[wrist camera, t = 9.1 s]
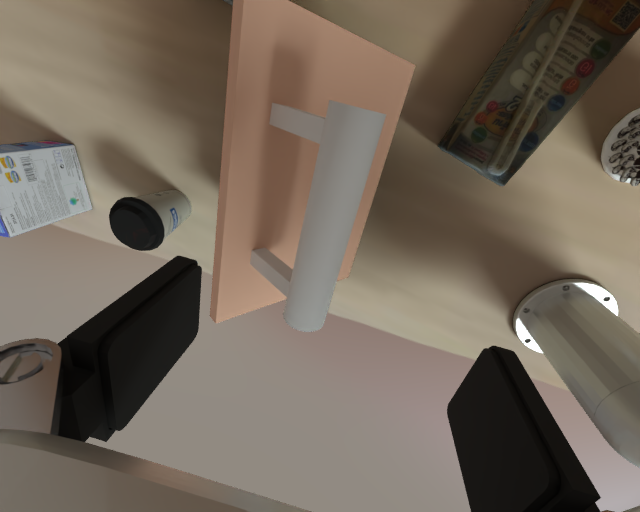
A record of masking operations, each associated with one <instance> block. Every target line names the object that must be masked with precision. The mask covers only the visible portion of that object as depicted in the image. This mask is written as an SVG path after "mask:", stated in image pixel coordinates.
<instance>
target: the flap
mask: <svg viewBox="0 0 640 512" xmlns="http://www.w3.org/2000/svg"><path fill="white" fill-rule="evenodd" d="M415 66H416V65H414V64H412V63H410V62H408V61H406V60H404V59H402V58H400V57H398V56H396V55H394V54H392V53H390V52H388V51H386V50H384V49H383V48H381V47H379V46H377V45H375V44H373V43H371V42H369V41H367V40H365V39H363V38H361V37H359V36H357V35H355V34H353V33H351V32H349V31H347V30H345V29H343V28H341V27H340V26H338V25H336V24H334V23H332V22H330V21H328V20H326V19H324V18H322V17H320V16H318V15H316V14H314V13H312V12H310V11H308V10H306V9H304V8H302V7H300V6H299V5H297V4H295V3H293V2H291V1H289V0H233V10H232V24H231V37H230V51H229V64H228V78H227V91H226V105H225V118H224V132H223V145H222V159H221V172H220V186H219V199H218V213H217V226H216V240H215V254H214V267H213V281H212V294H211V308H210V317H211V318H212V319H213V321H214V322H215V323H219V322H222V321H224V320H227V319H230V318H233V317H236V316H239V315H242V314H244V313H247V312H250V311H253V310H256V309H259V308H262V307H265V306H268V305H270V304H273V303H276V302H279V301H282V300H285V299H286V304H285V309H284V313H283V316H284V319H285V321H286V323H287V324H288V325H290V326H291V327H292V328H294V329H296V330H300V331H304V332H312V331H316V330H319V329H320V328H321V327H322V326H323V325H324V321H325V318H326V315H327V311H328V308H329V305H330V301H331V298H332V295H333V291H334V288H335V285H336V281H339V280H342V279H345V278H348V277H349V274H350V271H351V268H352V264H353V261H354V258H355V255H356V252H357V249H358V246H359V242H360V239H361V236H362V233H363V230H364V227H365V224H366V220H367V217H368V214H369V211H370V208H371V205H372V202H373V198H374V195H375V192H376V189H377V186H378V183H379V180H380V176H381V173H382V170H383V167H384V164H385V161H386V158H387V154H388V151H389V148H390V145H391V142H392V139H393V136H394V132H395V129H396V126H397V123H398V120H399V117H400V114H401V110H402V107H403V104H404V101H405V98H406V95H407V92H408V88H409V85H410V82H411V79H412V76H413V73H414V70H415Z"/></svg>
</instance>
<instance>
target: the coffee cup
mask: <svg viewBox="0 0 640 512" xmlns="http://www.w3.org/2000/svg"><path fill="white" fill-rule="evenodd" d="M190 214H191V203H190V201H189V199H188V198H187V197H186V196H185V195H184V194H183V193H181V192H180V191H177V190H168V191H163V192H158V193H153V194H148V195H143V196H138V197H124V198H122V199H120V200H117V202H116V203H115V204H114V205H113V207H112V208H111V211H110V214H109V219H110V225H111V229H112V231H113V233H114V235H115V236H116V238H117V239H118V240H120V241H121V242H122V243H123V244H125V245H127V246H129V247H130V248H132V249H136V250H139V251H145V250H153V249H155V248H158V246H159V245H160V244H161V243H162V242H163V240H164V239H165V238H166V237H167V236H168V235H169V234H170V233H171V232H172V231H174V230H175V229H176V228H177V227H178V226H179V225H180V224H181V223H182V222H183V221H184V220H186V219H187V218H188V217H189V216H190Z"/></svg>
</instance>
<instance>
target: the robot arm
mask: <svg viewBox="0 0 640 512" xmlns="http://www.w3.org/2000/svg"><path fill="white" fill-rule="evenodd" d="M201 274H202V269H201V267H200V266H198V264H197V261H196V260H193V259H189V258H186V257H182V256H176V257H175V258H173V259H172V260H171V261H169V262H168V263H167V264H165V265H164V266H163V267H161V268H160V269H158V270H157V271H156V272H154V273H153V274H152V275H150V276H149V277H147V278H146V279H145V280H143V281H142V282H141V283H139V284H138V285H136V286H135V287H134V288H132V289H131V290H130V291H128V292H127V293H125V294H124V295H123V296H122V297H120V298H119V299H118V300H116V301H115V302H113V303H112V304H110V305H109V306H108V307H106V308H105V309H104V310H102V311H101V312H99V313H98V314H97V315H95V316H94V317H93V318H91V319H90V320H88V321H87V322H86V323H84V324H83V325H82V326H80V327H79V328H78V329H76V330H75V331H74V332H72V333H71V334H69V335H68V336H67V338H65V339H63V340H62V341H61V342H59V343H58V344H56V343H55V342H53V341H50V340H47V339H39V338H35V339H24V340H19V341H15V342H11V343H8V344H6V345H3V346H0V512H311V511H308V510H304V509H301V508H298V507H295V506H292V505H289V504H286V503H282V502H279V501H276V500H273V499H270V498H267V497H263V496H260V495H257V494H254V493H250V492H247V491H244V490H241V489H238V488H234V487H232V486H228V485H225V484H222V483H218V482H215V481H212V480H209V479H205V478H202V477H199V476H196V475H193V474H190V473H186V472H183V471H180V470H177V469H173V468H170V467H167V466H164V465H161V464H157V463H154V462H151V461H148V460H144V459H141V458H137V457H134V456H131V455H127V454H124V453H120V452H116V451H113V450H110V449H106V448H103V447H99V446H96V445H92V444H89V443H85V441H86V440H87V439H88V438H89V437H93V438H96V439H99V440H102V441H105V442H107V440H108V439H109V438H110V437H111V436H112V434H113V433H114V432H115V430H118V431H120V430H122V429H123V428H124V427H125V426H126V425H127V424H128V423H129V421H130V420H131V419H132V418H133V416H134V415H135V414H136V413H137V411H138V410H139V409H140V407H141V406H142V405H143V404H144V402H145V401H146V400H147V398H148V397H149V396H150V394H152V392H153V391H154V390H155V388H156V387H157V386H158V385H159V383H160V382H161V381H162V380H163V378H164V377H165V376H166V374H167V373H168V372H169V371H170V369H171V368H172V367H173V366H174V364H175V363H176V362H177V361H178V359H179V358H180V357H181V356H182V354H183V353H184V352H185V350H186V349H187V348H188V347H189V345H190V344H191V343H192V342H193V340H194V338H195V337H196V335H197V332H198V326H199V309H200V290H201ZM513 328H514V330H515V333H516V335H517V336H518V338H519V339H520V341H521V342H522V343H523V344H524V345H526V346H527V347H528V348H530V349H532V350H534V351H536V352H540V353H543V354H544V355H545V356H546V358H547V359H548V361H549V362H550V363H551V365H552V366H553V368H554V369H555V370H556V372H557V373H558V375H559V376H560V377H561V379H562V380H563V382H564V383H565V384H566V386H567V387H568V389H569V390H570V391H571V393H572V394H573V395H574V397H575V398H576V400H577V401H578V402H579V404H580V405H581V407H582V408H583V409H584V411H585V412H586V414H587V415H588V416H589V418H590V419H591V421H592V422H593V423H594V425H595V426H596V428H597V429H598V430H599V431H600V433H601V434H602V436H603V437H604V439H605V440H606V441H607V442H608V443H609V445H610V446H611V447H612V448H613V449H614V450H615V451H616V452H617V453H618V454H620V455H621V456H622V457H624V458H625V459H626V460H627V461H629V462H630V463H632V464H634V465H635V466H637V467H639V468H640V333H638V332H636V331H635V330H634V329H633V328H632V327H630V326H629V325H628V324H627V323H626V322H624V321H623V320H622V319H621V318H620V317H618V306H617V302H616V300H615V298H614V297H613V295H612V294H611V293H610V292H609V291H607V290H606V289H605V288H603V287H602V286H600V285H598V284H596V283H594V282H591V281H588V280H583V279H564V280H559V281H554V282H551V283H548V284H545V285H543V286H541V287H539V288H537V289H535V290H534V291H532V292H531V293H530V294H528V295H527V296H526V297H525V298H524V299H523V300H522V301H521V302H520V304H519V305H518V307H517V309H516V311H515V313H514V317H513ZM447 414H448V419H449V423H450V427H451V431H452V435H453V439H454V444H455V447H456V452H457V456H458V460H459V464H460V468H461V472H462V476H463V480H464V484H465V488H466V492H467V496H468V500H469V505H470V508H471V512H600V510H599V509H598V507H597V505H596V503H595V502H596V501H597V500H598V499H600V496H599V494H598V492H597V490H596V489H595V487H594V485H593V484H592V482H591V480H590V479H589V477H588V476H587V474H586V472H585V470H584V469H583V467H582V465H581V463H580V462H579V460H578V458H577V457H576V455H575V453H574V452H573V450H572V448H571V447H570V445H569V443H568V441H567V440H566V438H565V436H564V435H563V433H562V431H561V430H560V428H559V426H558V425H557V423H556V421H555V419H554V418H553V416H552V414H551V413H550V411H549V409H548V408H547V406H546V404H545V403H544V401H543V399H542V397H541V396H540V394H539V392H538V391H537V389H536V387H535V386H534V384H533V382H532V380H531V379H530V377H529V375H528V374H527V372H526V370H525V369H524V367H523V365H522V364H521V362H520V360H519V358H518V357H517V355H516V354H515V352H513V351H511V350H508V349H504V348H501V347H497V346H491V347H489V349H487V348H485V349H484V350H483V351H482V352H481V354H480V355H479V357H478V358H477V360H476V361H475V363H474V365H473V366H472V368H471V369H470V371H469V372H468V374H467V376H466V377H465V379H464V380H463V382H462V383H461V385H460V387H459V388H458V390H457V391H456V393H455V395H454V396H453V398H452V399H451V401H450V402H449V404H448V409H447ZM602 512H613V511H608V510H605V511H602ZM623 512H640V506H637V507H634V508H632V509H629V510H626V511H623Z"/></svg>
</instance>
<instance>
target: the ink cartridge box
mask: <svg viewBox="0 0 640 512" xmlns="http://www.w3.org/2000/svg"><path fill="white" fill-rule="evenodd" d="M88 210H92V205H91V202H90V198H89V195H88V191H87V188H86V185H85V181H84V178H83V174H82V170H81V167H80V163H79V160H78V156H77V153H76V149H75V146H74V145H73V144H66V143H59V142H53V141H45V140H43V141H34V142H25V143H15V144H5V145H0V236H4V237H14V236H17V235H19V234H22V233H25V232H28V231H31V230H34V229H37V228H39V227H42V226H45V225H48V224H51V223H54V222H57V221H59V220H62V219H65V218H68V217H71V216H74V215H77V214H79V213H82V212H85V211H88Z"/></svg>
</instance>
